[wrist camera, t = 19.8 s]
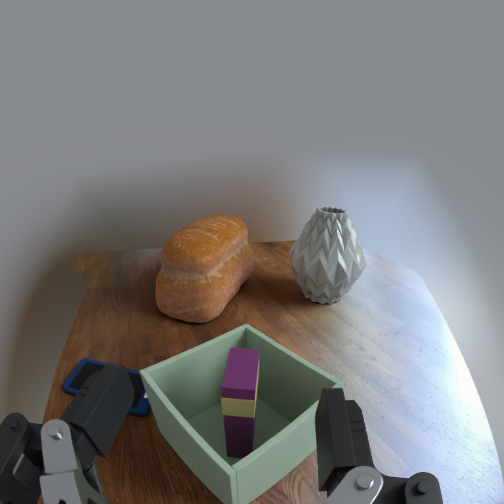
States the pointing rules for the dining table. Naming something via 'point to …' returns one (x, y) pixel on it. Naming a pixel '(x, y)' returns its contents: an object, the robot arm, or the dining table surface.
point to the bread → (203, 268)
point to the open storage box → (212, 422)
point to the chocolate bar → (240, 400)
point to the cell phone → (92, 366)
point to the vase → (327, 256)
